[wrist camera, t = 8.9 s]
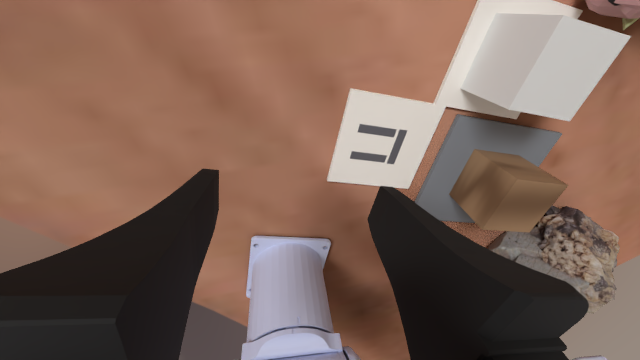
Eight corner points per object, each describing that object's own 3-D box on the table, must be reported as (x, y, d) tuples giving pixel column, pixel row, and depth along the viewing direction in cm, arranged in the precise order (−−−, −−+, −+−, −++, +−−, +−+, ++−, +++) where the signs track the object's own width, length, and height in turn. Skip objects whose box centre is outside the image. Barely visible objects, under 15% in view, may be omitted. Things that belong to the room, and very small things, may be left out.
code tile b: (513, 118, 23) (516, 119, 23) (433, 103, 21) (435, 104, 21) (579, 10, 19) (583, 10, 18) (486, -20, 17) (489, -21, 17)
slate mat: (494, 222, 30) (496, 224, 30) (407, 215, 27) (409, 218, 27) (558, 132, 24) (562, 133, 24) (457, 114, 22) (459, 115, 21)
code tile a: (407, 187, 25) (408, 188, 25) (326, 179, 23) (327, 181, 23) (444, 105, 21) (446, 106, 21) (350, 88, 19) (351, 89, 19)
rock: (523, 234, 37) (633, 248, 28) (499, 313, 33) (621, 356, 24) (497, 193, 33) (615, 195, 25) (467, 276, 29) (597, 311, 21)
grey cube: (512, 99, 21) (569, 121, 17) (460, 88, 20) (508, 109, 16) (552, 29, 19) (631, 36, 15) (495, 13, 18) (563, 15, 14)
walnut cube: (490, 198, 27) (529, 232, 23) (448, 194, 26) (482, 229, 22) (519, 155, 25) (568, 185, 21) (474, 148, 24) (517, 179, 19)
